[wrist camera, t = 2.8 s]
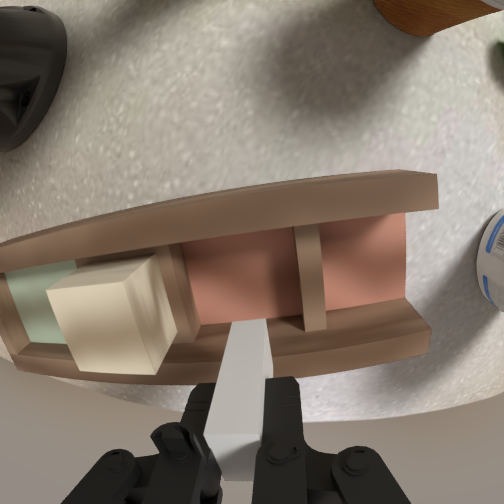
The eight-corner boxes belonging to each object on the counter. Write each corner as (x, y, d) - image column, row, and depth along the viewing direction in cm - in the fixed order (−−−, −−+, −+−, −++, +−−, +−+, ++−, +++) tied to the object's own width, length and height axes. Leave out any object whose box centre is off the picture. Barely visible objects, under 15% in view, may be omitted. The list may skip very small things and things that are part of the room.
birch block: (85, 263, 20) (45, 290, 15) (155, 252, 19) (122, 281, 14) (109, 334, 22) (79, 370, 17) (177, 331, 21) (155, 374, 16)
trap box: (8, 240, 23) (-29, 256, 18) (399, 169, 19) (436, 174, 14) (45, 343, 26) (18, 370, 21) (401, 316, 23) (427, 352, 18)
